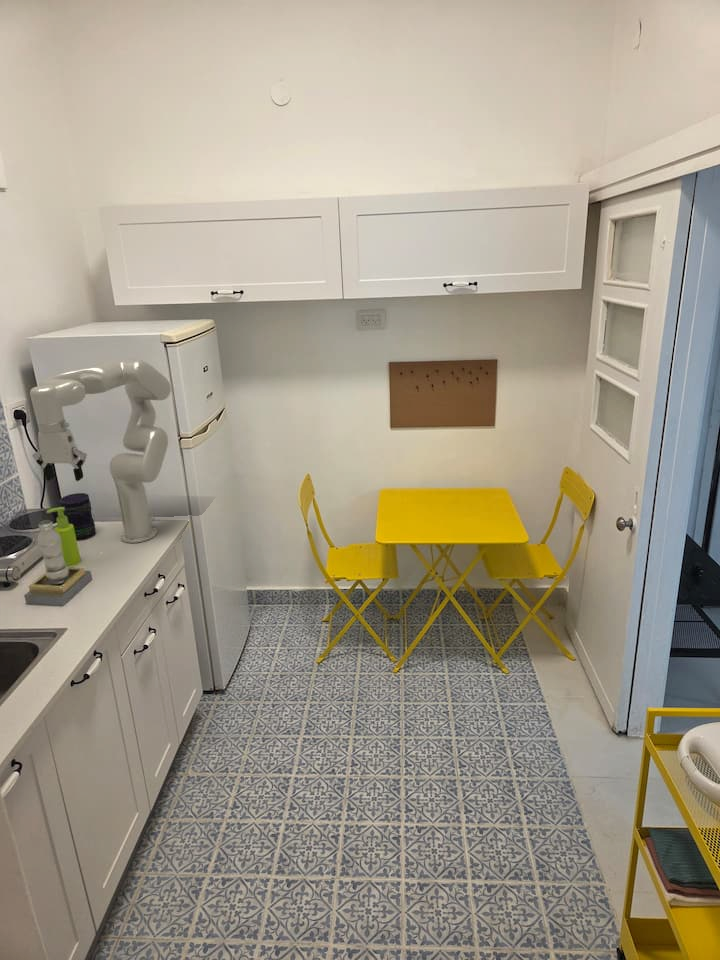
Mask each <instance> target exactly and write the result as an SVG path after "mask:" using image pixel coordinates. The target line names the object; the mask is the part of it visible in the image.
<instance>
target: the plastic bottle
mask: <svg viewBox="0 0 720 960" xmlns="http://www.w3.org/2000/svg"><path fill="white" fill-rule="evenodd" d="M38 529H39V531H40V532H39V534H38V535H37V538H36V542H37V545H38V547H39V549H40V552H41V554H42V557H43V561H44V567H45V572H46V579H47V581H48V582H49V583H50V584H52V585H58V584H62V583H65V582H66V581H67V580H68V579H69V577H70V574H69V570H68V568H69V567H67V566H66V563H65V560H64V557H63V553H62V546H61V536H60V535H59V533H58V532H56V531H55V530H54V524H53V521H51V520H43V521H40V522H39V523H38Z"/></svg>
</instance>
